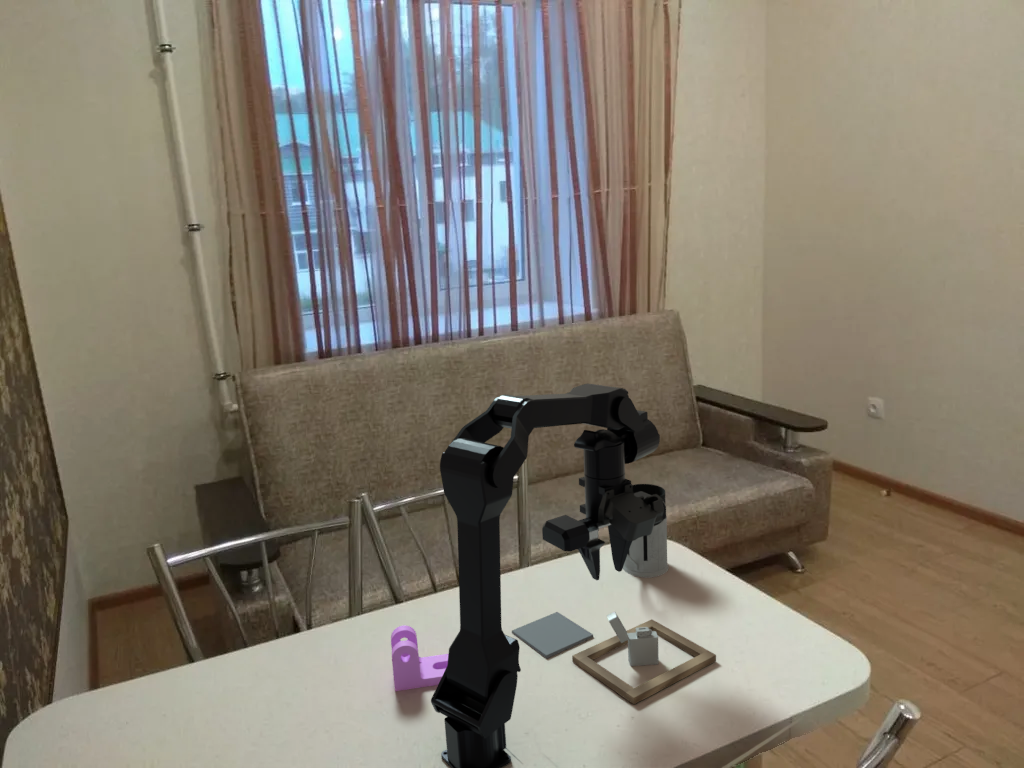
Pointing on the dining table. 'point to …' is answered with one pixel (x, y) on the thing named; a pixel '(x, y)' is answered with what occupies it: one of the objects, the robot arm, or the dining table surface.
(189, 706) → the dining table surface
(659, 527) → the glass holder
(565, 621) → the mat
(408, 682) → the bracket
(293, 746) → the dining table surface
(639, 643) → the lighter
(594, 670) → the frame
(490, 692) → the robot arm
